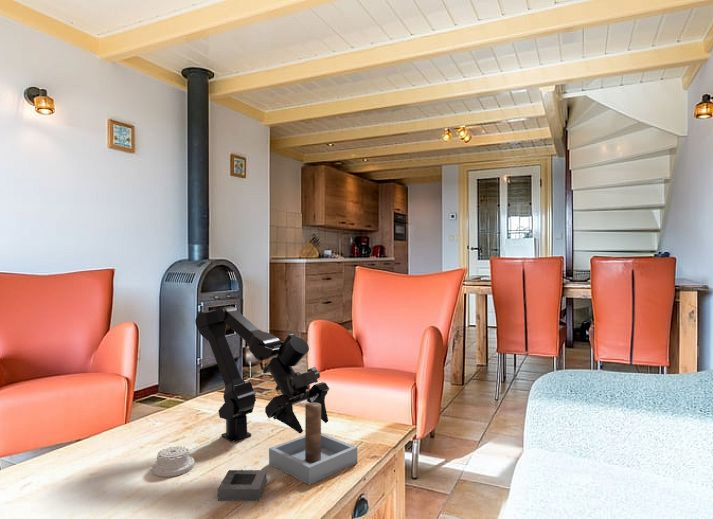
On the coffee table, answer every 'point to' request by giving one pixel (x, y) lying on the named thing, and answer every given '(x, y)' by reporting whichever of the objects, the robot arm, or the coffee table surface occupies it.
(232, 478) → the gray square socket plate
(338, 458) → the tray
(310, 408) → the pin
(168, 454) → the mechanical component
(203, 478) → the coffee table surface
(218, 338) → the robot arm
